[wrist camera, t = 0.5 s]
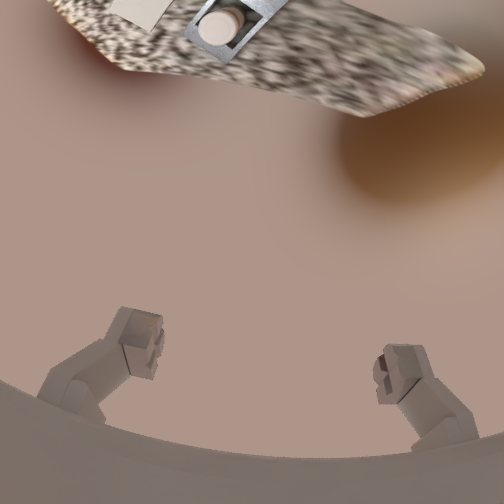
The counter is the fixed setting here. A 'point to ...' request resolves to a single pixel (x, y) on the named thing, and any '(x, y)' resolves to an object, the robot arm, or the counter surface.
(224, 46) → the grey open box
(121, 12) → the plate
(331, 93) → the counter surface
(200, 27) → the sprinkles bottle
